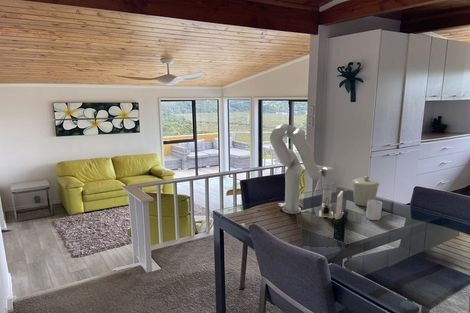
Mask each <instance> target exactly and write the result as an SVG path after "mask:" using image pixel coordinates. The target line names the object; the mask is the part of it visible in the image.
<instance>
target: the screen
mask: <svg viewBox="0 0 470 313" xmlns="http://www.w3.org/2000/svg"><path fill="white" fill-rule="evenodd" d="M343 195H344V190H340V192H339V193H338V194H337V195H336V196H337V197H336V208H335V209H336V210H335V213H334V214H333V218H335V219H334V220H337V219H340V218H341V219H342V217H343V216H344V214H345V212H344V211H342V208H343ZM333 218H332V219H333ZM341 219H340V220H341Z"/></svg>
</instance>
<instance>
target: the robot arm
mask: <svg viewBox="0 0 470 313" xmlns="http://www.w3.org/2000/svg"><path fill="white" fill-rule="evenodd" d="M306 136H307V135H306V132H305V130H303V129H302V128H299V127H296V126H293V125H291V124H288V123H281V124H278V125H277V126H276V127H275V128H273V130H272V132H271V133H270V136H269V142H270V144H271V146H272V149H273V150H274V153H275V155H276V157H277V158H278V160H279V163H280V164H281V165H282V166H285V167H287V169H286V171H285V172H284V174H285V175H284V178H285V182H284V184H285V186H284V187H285V188H284V190H285V191H284V194H285V195H284V202H278V204H277V205H278V206H279V207H280V208H282V211H283V212H284V213H285V214H286V213H287V214H291V215H293V214H295V215H296V214H298V213H300V212H301V211H302V209H301V207H300V206H299V205H300V186H301V185H300V184H301V182H300V181H301V180H300V179H301V174H302V172H303V167H302V165H303V166H304V169H305V170H306V173H307V174H308V176H309V177H310V178H311V179H312V180H314V181H318V180H321V182H322V183H321V188H322V202H321V204H322V203H325V204H326V205H325V207H324V213H326V214H329V204H331V200H332V192H333V190H334V189H335V176H336V169H335V168H334V167H332V166H324V165H320V164H319V165H318V164H317V163H316V161H315V158H314V152H313V149H312V147H311V145H310V144H309V142H308V140H307V138H306ZM285 137H286V138H288V139H290V141H291V142H292V144H293V146H294V147H295V149H296V150H297V152H298V155H299V156H300V159H301V161H300V160H299V158H298V156H297V154H296V153H295V151H293V149H291V148H288V146H287V144H286V142H285V141H284V138H285ZM301 162H302V165H301ZM321 178H322V179H321Z"/></svg>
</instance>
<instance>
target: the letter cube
mask: <svg viewBox="0 0 470 313" xmlns="http://www.w3.org/2000/svg"><path fill="white" fill-rule="evenodd" d="M325 205H326V204H325V203H322V202H321V215H325V216H331V212H332V203H330V204H329V214H326V213H324V207H325Z"/></svg>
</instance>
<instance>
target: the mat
mask: <svg viewBox="0 0 470 313" xmlns="http://www.w3.org/2000/svg"><path fill="white" fill-rule="evenodd" d="M321 211H322V209H320V210H318V218H324V217H328V218H327V219H333V217H334V212H333V211H331V216H325V215H321Z"/></svg>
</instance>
